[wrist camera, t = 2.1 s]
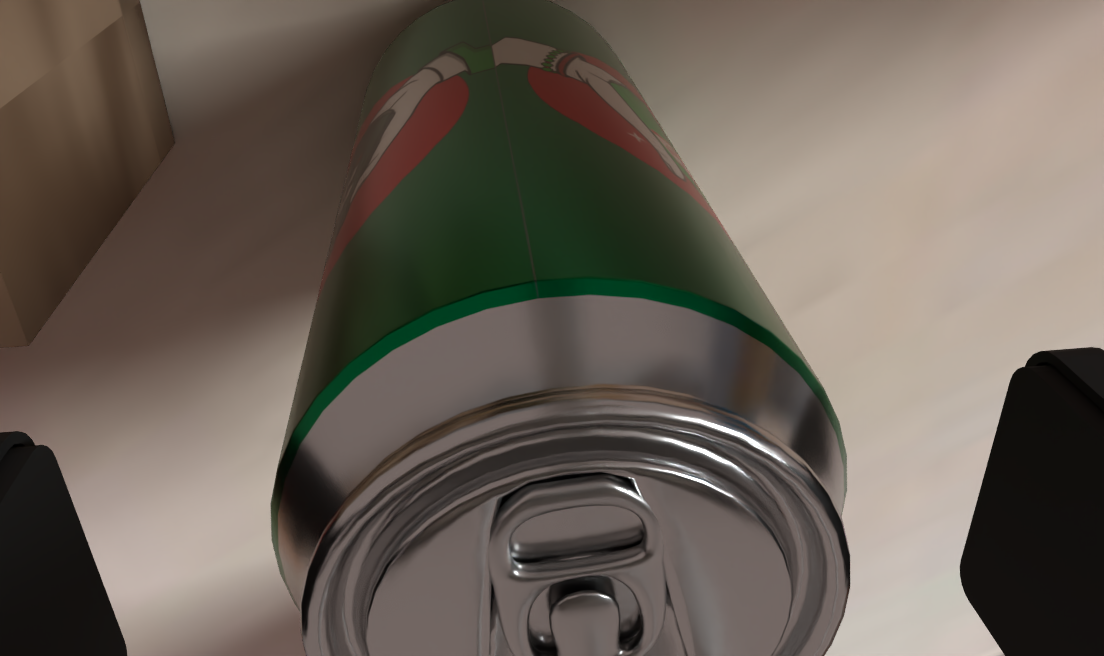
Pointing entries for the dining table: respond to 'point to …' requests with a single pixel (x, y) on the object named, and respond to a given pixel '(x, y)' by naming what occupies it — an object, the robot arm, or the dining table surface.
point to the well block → (69, 144)
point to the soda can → (547, 380)
